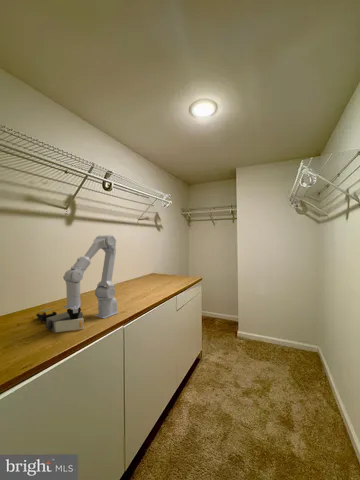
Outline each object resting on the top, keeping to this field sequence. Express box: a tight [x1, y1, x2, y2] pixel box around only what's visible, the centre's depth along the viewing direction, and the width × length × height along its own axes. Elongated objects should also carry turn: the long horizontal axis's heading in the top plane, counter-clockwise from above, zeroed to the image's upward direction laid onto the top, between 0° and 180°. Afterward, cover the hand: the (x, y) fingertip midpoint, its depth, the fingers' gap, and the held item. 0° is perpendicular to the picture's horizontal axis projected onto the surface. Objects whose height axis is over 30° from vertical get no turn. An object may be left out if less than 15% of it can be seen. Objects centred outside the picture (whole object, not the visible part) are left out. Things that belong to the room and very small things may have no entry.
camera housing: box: [45, 311, 84, 333], centre depth 97 cm, size 14×8×6 cm, turn 147°
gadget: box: [36, 308, 58, 323], centre depth 105 cm, size 6×13×6 cm, turn 50°
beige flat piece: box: [53, 318, 84, 333], centre depth 91 cm, size 12×2×4 cm, turn 107°
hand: (74, 324), depth 94 cm, fingers closed
